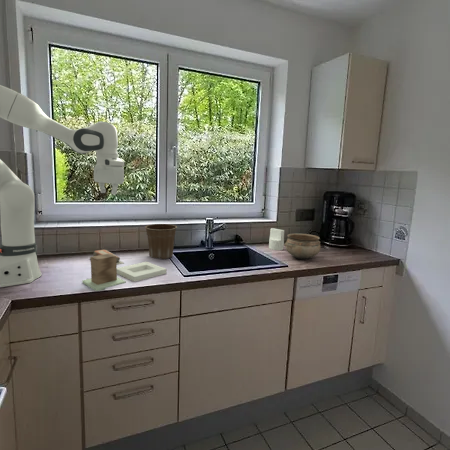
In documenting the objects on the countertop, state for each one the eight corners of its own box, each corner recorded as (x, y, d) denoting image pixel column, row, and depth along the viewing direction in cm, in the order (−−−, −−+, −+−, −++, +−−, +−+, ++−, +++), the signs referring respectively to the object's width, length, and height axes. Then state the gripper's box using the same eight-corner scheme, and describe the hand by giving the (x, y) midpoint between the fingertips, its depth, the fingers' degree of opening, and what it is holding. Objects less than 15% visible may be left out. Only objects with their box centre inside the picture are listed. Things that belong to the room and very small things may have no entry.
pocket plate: (134, 282, 127) (134, 276, 127) (115, 273, 137) (115, 268, 137) (166, 274, 139) (166, 268, 139) (146, 266, 149) (146, 261, 148)
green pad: (96, 291, 117) (96, 288, 117) (82, 282, 125) (82, 280, 125) (125, 283, 126) (125, 281, 126) (110, 276, 134) (110, 273, 134)
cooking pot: (295, 265, 161) (297, 241, 159) (273, 255, 178) (274, 234, 176) (330, 260, 173) (332, 238, 171) (306, 252, 190) (308, 232, 187)
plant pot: (162, 262, 157) (163, 230, 154) (138, 257, 164) (138, 226, 162) (182, 255, 171) (183, 226, 168) (159, 251, 178) (159, 222, 176)
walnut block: (97, 284, 121) (96, 259, 119) (91, 281, 124) (90, 256, 122) (116, 280, 127) (116, 256, 125) (110, 277, 130) (110, 253, 128)
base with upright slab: (265, 247, 196) (266, 228, 194) (274, 246, 202) (276, 227, 200) (277, 250, 189) (278, 231, 187) (286, 248, 196) (287, 229, 194)
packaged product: (89, 250, 157) (108, 248, 163) (89, 260, 157) (108, 257, 164) (103, 258, 144) (124, 255, 150) (103, 269, 144) (124, 265, 151)
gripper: (89, 161, 140) (90, 192, 143) (112, 161, 127) (113, 195, 129) (102, 161, 145) (103, 191, 147) (126, 162, 131) (127, 195, 134)
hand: (108, 193), depth 138 cm, fingers open, 8 cm apart
